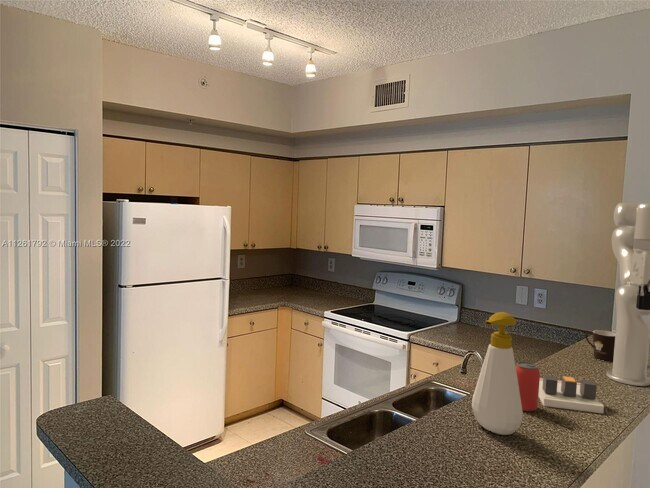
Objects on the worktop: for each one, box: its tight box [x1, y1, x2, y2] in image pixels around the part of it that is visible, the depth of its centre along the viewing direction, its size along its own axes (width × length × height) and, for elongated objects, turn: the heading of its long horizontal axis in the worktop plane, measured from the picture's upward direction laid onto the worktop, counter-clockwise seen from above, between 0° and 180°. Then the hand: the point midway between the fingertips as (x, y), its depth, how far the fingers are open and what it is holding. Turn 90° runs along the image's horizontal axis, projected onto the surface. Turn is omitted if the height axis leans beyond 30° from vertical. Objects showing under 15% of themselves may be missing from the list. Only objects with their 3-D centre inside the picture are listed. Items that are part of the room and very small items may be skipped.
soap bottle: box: [471, 311, 524, 436], centre depth 115 cm, size 13×10×29 cm
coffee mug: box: [584, 329, 616, 362], centre depth 181 cm, size 12×9×10 cm
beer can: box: [515, 361, 541, 412], centre depth 131 cm, size 7×7×12 cm
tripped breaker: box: [561, 376, 578, 397], centre depth 136 cm, size 4×3×4 cm
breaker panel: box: [538, 374, 605, 414], centre depth 139 cm, size 18×15×6 cm
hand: (643, 309), depth 138 cm, fingers closed
